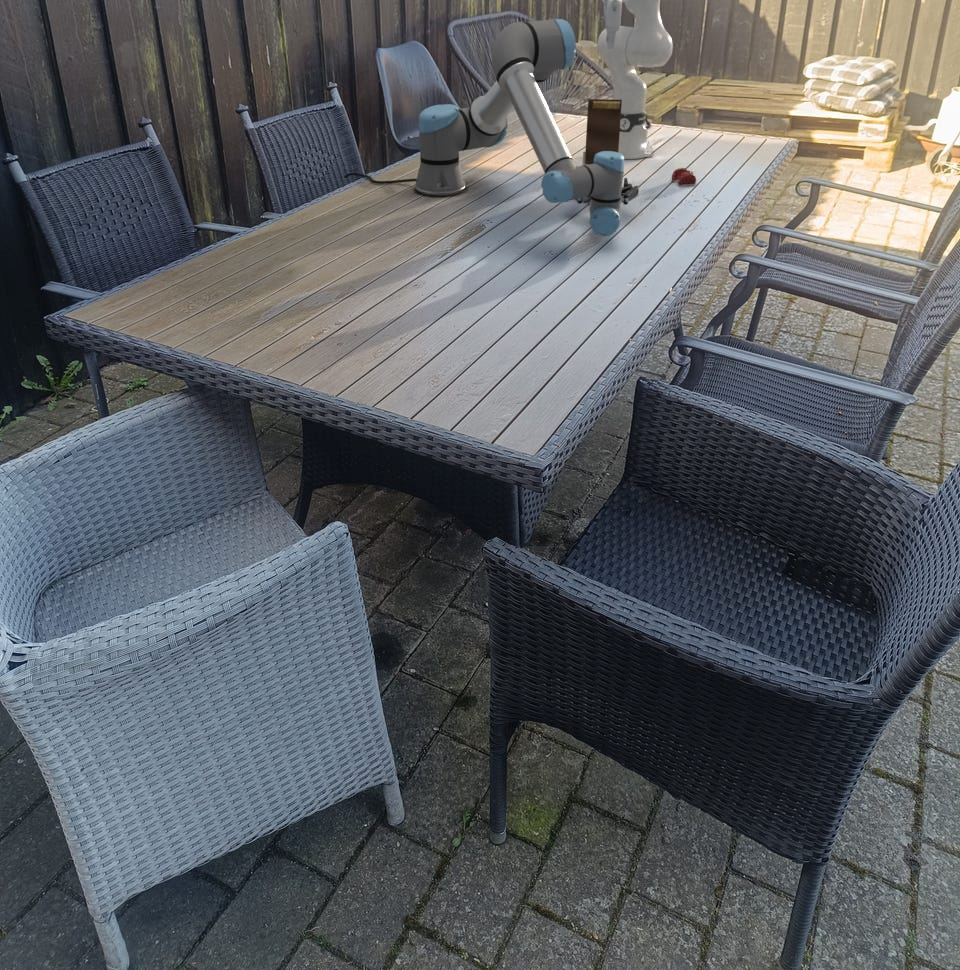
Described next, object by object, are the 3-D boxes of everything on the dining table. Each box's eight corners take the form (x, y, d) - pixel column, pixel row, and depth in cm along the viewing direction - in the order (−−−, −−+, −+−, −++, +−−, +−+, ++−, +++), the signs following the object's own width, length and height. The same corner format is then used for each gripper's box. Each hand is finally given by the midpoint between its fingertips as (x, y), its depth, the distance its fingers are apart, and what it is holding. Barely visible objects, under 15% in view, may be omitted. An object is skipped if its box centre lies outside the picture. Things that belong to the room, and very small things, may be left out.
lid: (588, 99, 238) (589, 94, 230) (621, 100, 238) (624, 95, 229) (584, 163, 243) (586, 161, 235) (617, 164, 243) (619, 162, 234)
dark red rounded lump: (687, 164, 265) (698, 171, 259) (685, 177, 268) (697, 185, 262) (670, 166, 264) (681, 173, 258) (669, 179, 267) (680, 187, 261)
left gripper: (556, 217, 228) (557, 194, 245) (649, 220, 226) (643, 196, 244) (557, 189, 224) (558, 167, 241) (652, 192, 222) (646, 169, 239)
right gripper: (628, -9, 211) (623, 52, 219) (625, -17, 228) (620, 40, 236) (603, -10, 212) (598, 51, 220) (601, -18, 228) (597, 40, 236)
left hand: (601, 182), depth 242 cm, fingers open, 13 cm apart
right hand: (609, 45), depth 228 cm, fingers open, 8 cm apart
